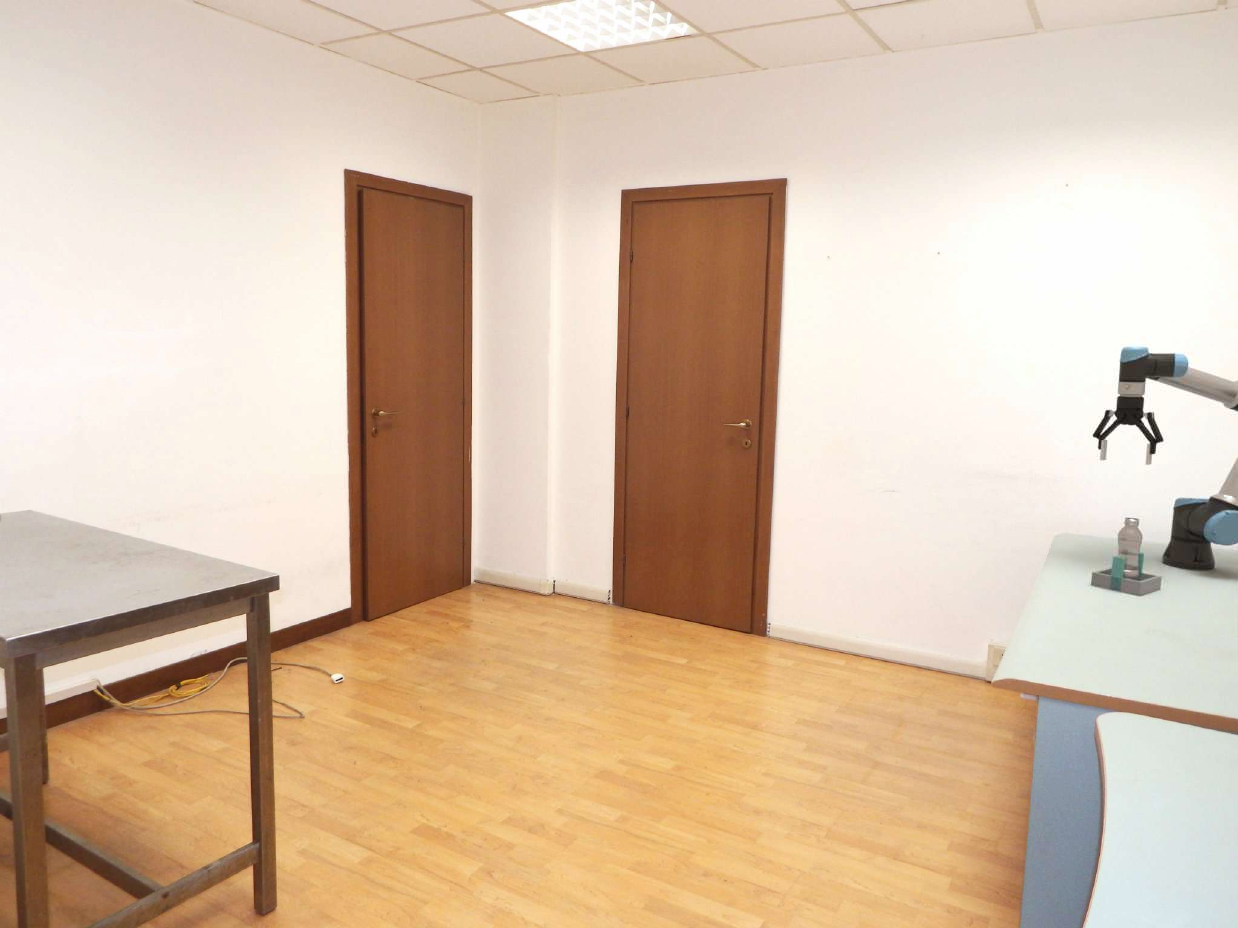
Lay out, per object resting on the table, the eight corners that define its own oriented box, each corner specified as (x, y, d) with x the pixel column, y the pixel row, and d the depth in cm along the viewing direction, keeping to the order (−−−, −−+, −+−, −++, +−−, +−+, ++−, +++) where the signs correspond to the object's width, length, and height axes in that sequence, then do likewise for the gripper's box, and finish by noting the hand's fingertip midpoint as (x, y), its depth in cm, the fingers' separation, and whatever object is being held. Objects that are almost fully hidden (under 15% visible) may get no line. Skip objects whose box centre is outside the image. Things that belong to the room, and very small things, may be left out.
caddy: (1111, 579, 283) (1115, 547, 282) (1160, 589, 273) (1163, 556, 271) (1090, 585, 275) (1094, 552, 274) (1139, 595, 264) (1143, 562, 263)
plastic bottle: (1141, 587, 270) (1148, 521, 267) (1116, 585, 271) (1123, 519, 269) (1133, 582, 276) (1140, 517, 274) (1109, 580, 277) (1116, 516, 275)
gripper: (1084, 394, 295) (1079, 459, 297) (1169, 398, 276) (1163, 467, 278) (1094, 393, 299) (1089, 457, 302) (1178, 397, 281) (1172, 465, 283)
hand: (1125, 462), depth 290 cm, fingers open, 13 cm apart
